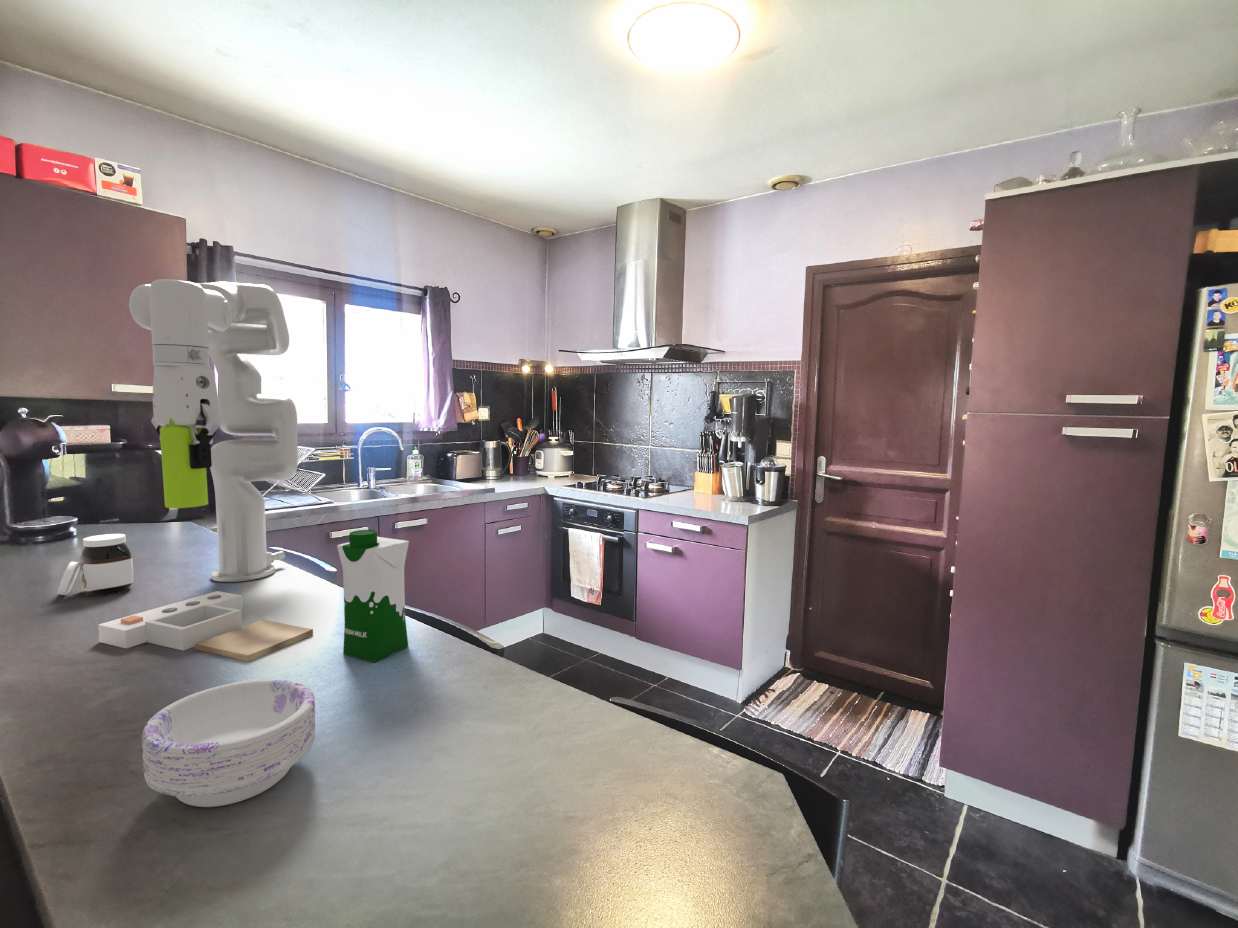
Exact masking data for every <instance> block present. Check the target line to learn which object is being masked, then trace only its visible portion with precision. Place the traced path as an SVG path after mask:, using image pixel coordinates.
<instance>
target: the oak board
mask: <svg viewBox="0 0 1238 928" xmlns="http://www.w3.org/2000/svg"><path fill="white" fill-rule="evenodd" d="M312 636H314V630H313V628H308V627H304V626H297V625H293V624H287V623H284V622H277V621H272V620H271V621H270V620H267V619H261V620H258V621H255V622H253V623H250V624H247V625H244V626H242V627H241V628H238V629H235V630H233V631H230V632H227V633H224V634H221V635H218V636H216V637H213V638H210V639H207V640H204V641H201V642H199V643H196V644H195V646H194V648H195V650H196V651H200V652H205V653H209V654H214V655H218V656H221V657H227V658H231V659H235V660H240V661H244V662H251V661H253V660H256V659H258V658H261V657H262V656H265V655H268V654H270V653H273V652H275V651H278V650H279V649H282V648H284V647H287V646H290V645H292V644H294V643H296V642H299V641H301V640H304V639H306V638H308V637H312Z"/></svg>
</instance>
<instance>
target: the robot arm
mask: <svg viewBox="0 0 1238 928" xmlns="http://www.w3.org/2000/svg"><path fill="white" fill-rule="evenodd" d="M128 305H129V307H128V308H129V312H130V315H131V317H132V318H133V320H134V323H136V324H137V325H138V326H140V327H141V328H142V329H144V330H147V331H148V330H149V331H150V333H151V345H152V364H153V365H152V366H153V367H154V371H153V379H152V410H153V411H152V413H153V416H152V418H151V420H150V422H151V424H152V425H153V427H154V428H155V429H156V430H155V431H156V432H157V434H158V436H159V439H158V440H159V442H160V443H161V440H160V428H161V427H165V426H170V425H169V419H170V417H171V418H172V419H173V421H174V423H175V425H177V426H182V427H187V428H188V432H189V435H190V438H191V441H192V444H191V445H189V456H190V468H191V469H200V468H206V469H210V473H211V477H212V480H213V481H212V482H213V487H214V497H215V498H214V499H215V515H216V534H217V536H216V537H217V553H218V554H217V555H218V556H217V557H218V558H217V559H218V569H216V570H214V571H212V572H211V573H210V579H211V580H212V581H215V582H220V583H221V582H222V583H237V582H238V583H239V582H247V581H253V580H258V579H263V578H265V577H268V576H271V575H272V574H274V573H275V571H276V568H275V567H276V566H275V565H273V564H272V563H274V562H275V561H279V560H283V559H284V558H285V557H286V554H285V551H284V550H280V551H277V552H273V553H272V552H270V551H267V530H266V529H267V527H266V507H265V506H266V504H265V498H264V496H263V494H262V493H261V492H260V490H258V489H257V487H256V486H255V485H254V484H253V482H264V481H267V482H268V481H286V480H290V479H293V478H294V477H295V475H296V473H297V470H298V463H299V462H298V461H299V459H298V457H299V456H298V449H299V448H298V413H297V409H296V406H295V403H294V401H293V400H292V399H291V398H289V397H288V396H285V395H275V394H274V395H272V394H271V395H270V394H262V376H261V373H260V372H259V371H258V369H257V368H256V367H255V366H254V365H253V364H252V363H251V361H249V360H248V359H246V358H245V357H244V355H258V356H259V355H261V356H280V355H283V354H285V353H286V352H287V350H288V349H289V346H290V336H289V335H290V334H289V330H288V325H287V321H286V317H285V313H284V309H283V306H282V303H281V300H280V298H279V295H278V294H277V292H275V290H274V289H273V288H271V287H270V286H268V285H265V284H254V283H243V282H241V283H240V282H231V281H229V282H228V281H215V282H201V283H200V282H192V281H185V280H180V279H167V278H164V279H163V278H162V279H155V280H153V281H152V282H151V283H146V284H145V283H144V284H140V285H138V286H136V287H135V288H134V289H133V290H132V292H131V294H130V297H129V302H128ZM242 354H243V355H242ZM210 359H211V361H212V363H213V365H214V368H215V369H216V373H217V376H218V377H217V378H218V388H217V384H216V378H215V376H214V375H215V374H214V372H213V369H212V367H210ZM217 389H218V390H217ZM219 428H220V430H221V431H222V432H224V433H225V434H228V435H232V436H272V437H274V438H275V439H231V440H230V439H229V440H223V441H220V442H217V443H215V444H214V445H212V444H213V443H214V439H213V438H214V436H215V435H216V432H217V430H218V429H219ZM197 430H201V431H200V432H199V434H197Z"/></svg>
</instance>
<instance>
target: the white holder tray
mask: <svg viewBox="0 0 1238 928" xmlns="http://www.w3.org/2000/svg"><path fill="white" fill-rule="evenodd" d="M243 600H244V599H243V594H235V593H232V592H231V593H230V592H225V591H220V590H217V591H212V592H209V593H206V594H205V593H204V594H202V595H198V596H195V597H191V598H188V599H184V600H181V601H180V600H179V601H178V602H174V603H170V604H166V605H163V606H160V607H157V608H151V609H149V610H145V611H143V612H142V611H141V612H138V613H134V614H131V615H127V616H124V617H120V618H117V619H113V620H110V621H105V622H103V623H99V624H98V630H97V631H98V642H99V643H102V644H107V645H110V646H114V647H117V648H122V649H130V648H132V647H135V646H139V645H141V644H144V643H149V644H153V645H157V646H161V647H165V648H171V649H175V650H179V651H183V652H184V651H186V650H189V649H192V648H195V644H196V643H199V642H201V641H204V640H207V639H210V638H213V637H216V636H218V635H221V634H224V633H227V632H230V631H233V630H235V629H238V628H241V627H243V617H242V616H243V615H242V612H243V611H244V605H243V602H244V601H243Z"/></svg>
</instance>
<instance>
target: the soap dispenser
mask: <svg viewBox="0 0 1238 928" xmlns="http://www.w3.org/2000/svg"><path fill="white" fill-rule="evenodd" d="M169 425H170V426H165V427H161V428H160V436H159V437H160V440H161V442H160V453H161V466H162V482H163V483H162V484H163V496H164V497H163V498H164V507H165V508H166V509H189V508H197V507H202V506H203V507H204V506H207V505H209V496H208V495H209V494H208V481H207V480H208V478H207V468H200V469H191V468H190V456H189V445H191V444H192V441H191V438H190V435H189V432H188V428H187V427H182V426H177V425H175V423H174V421H173V419H172V418H171V417H170V419H169ZM200 431H201V430H197V434H199V432H200ZM160 440H159V441H160Z"/></svg>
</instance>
